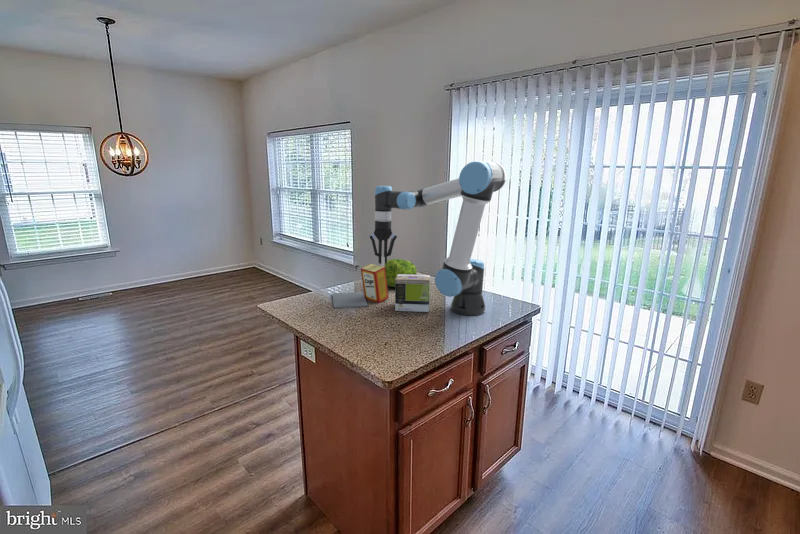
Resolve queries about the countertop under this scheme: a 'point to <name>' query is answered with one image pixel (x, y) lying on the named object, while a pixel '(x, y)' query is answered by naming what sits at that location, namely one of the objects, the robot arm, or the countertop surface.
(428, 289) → the tea box
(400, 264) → the lettuce
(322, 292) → the countertop surface
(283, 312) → the countertop surface
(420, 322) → the countertop surface
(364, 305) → the mat
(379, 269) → the baking soda box
